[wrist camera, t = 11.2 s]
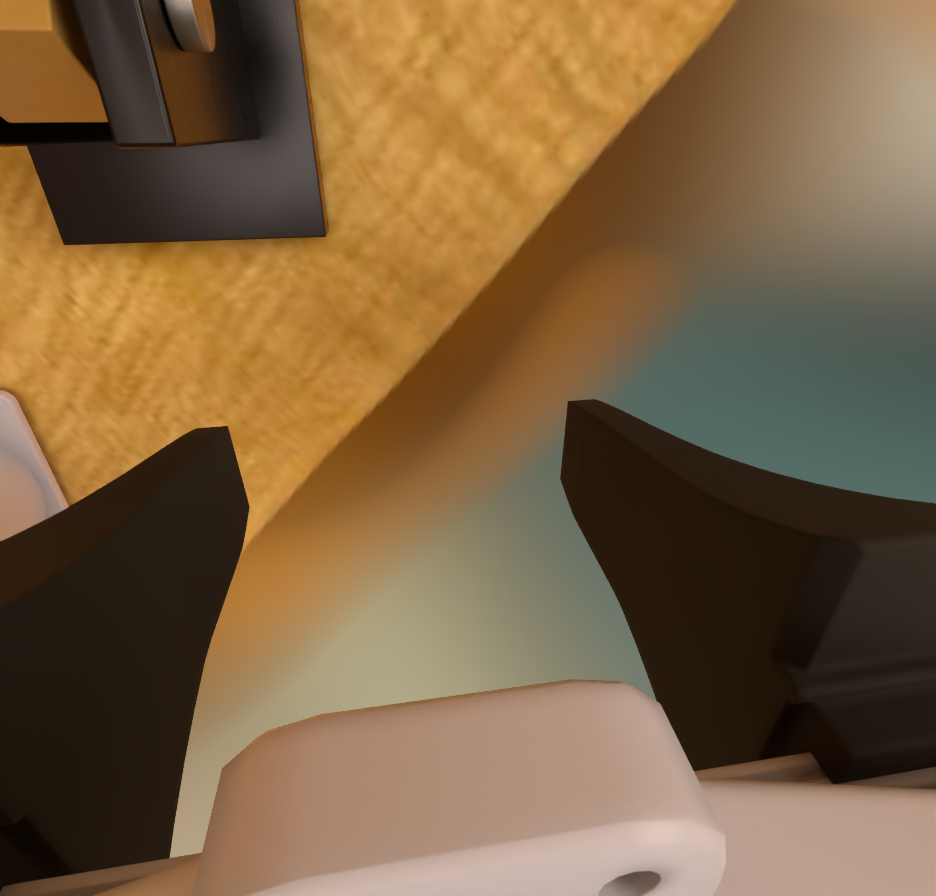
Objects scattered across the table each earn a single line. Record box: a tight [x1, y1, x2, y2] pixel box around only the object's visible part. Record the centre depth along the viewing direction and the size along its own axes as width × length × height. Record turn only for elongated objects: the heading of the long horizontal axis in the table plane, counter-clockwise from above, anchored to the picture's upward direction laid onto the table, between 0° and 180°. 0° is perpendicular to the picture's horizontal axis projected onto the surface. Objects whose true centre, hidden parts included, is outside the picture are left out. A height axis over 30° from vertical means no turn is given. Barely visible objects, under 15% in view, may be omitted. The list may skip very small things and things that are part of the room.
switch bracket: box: [0, 0, 329, 245], centre depth 12 cm, size 10×8×9 cm
